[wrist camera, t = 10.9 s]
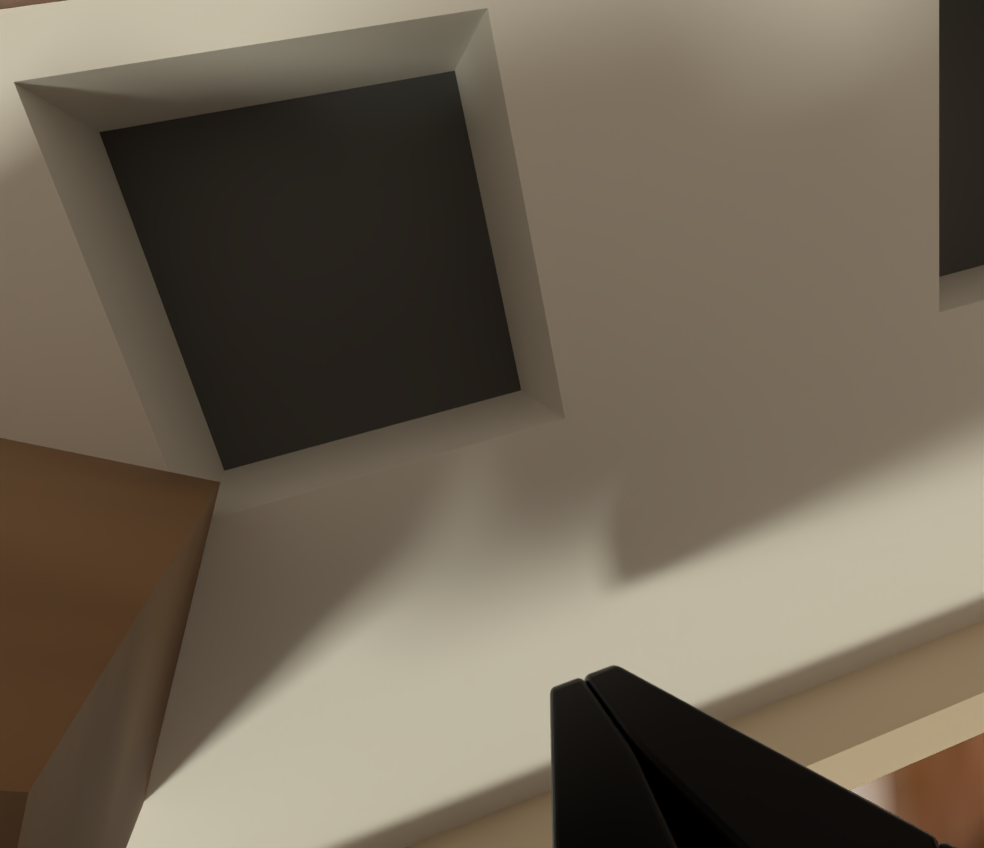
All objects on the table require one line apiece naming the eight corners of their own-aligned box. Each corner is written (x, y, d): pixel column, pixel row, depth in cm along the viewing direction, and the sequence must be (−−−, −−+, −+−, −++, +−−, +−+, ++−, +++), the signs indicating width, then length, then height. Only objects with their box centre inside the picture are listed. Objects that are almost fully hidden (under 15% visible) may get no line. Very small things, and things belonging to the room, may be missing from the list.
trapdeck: (1350, 415, 16) (1649, 456, 12) (-229, 998, 10) (-569, 1424, 6) (1464, -133, 12) (1924, -303, 9) (-858, 241, 6) (-2465, 193, 3)
